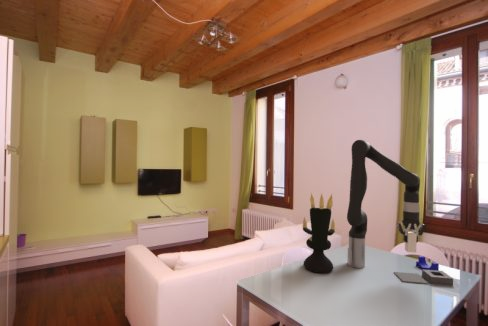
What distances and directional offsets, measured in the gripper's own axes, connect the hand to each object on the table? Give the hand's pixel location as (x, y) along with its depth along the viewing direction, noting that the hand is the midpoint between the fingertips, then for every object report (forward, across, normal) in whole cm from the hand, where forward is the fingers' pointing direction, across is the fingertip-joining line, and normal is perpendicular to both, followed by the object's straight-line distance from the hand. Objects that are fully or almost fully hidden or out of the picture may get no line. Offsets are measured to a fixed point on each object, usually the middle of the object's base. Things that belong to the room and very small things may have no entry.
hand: (410, 242), depth 144 cm
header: (+19, +13, 0) cm, 23 cm away
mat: (+19, 0, 0) cm, 19 cm away
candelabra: (+19, -47, +2) cm, 51 cm away
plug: (+5, 0, 0) cm, 5 cm away
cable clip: (+20, +15, +15) cm, 29 cm away
